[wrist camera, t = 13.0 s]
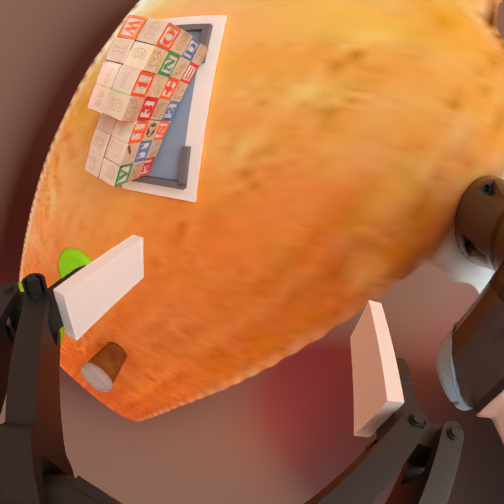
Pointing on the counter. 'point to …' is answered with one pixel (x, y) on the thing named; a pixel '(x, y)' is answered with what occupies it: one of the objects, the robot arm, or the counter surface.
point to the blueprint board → (186, 120)
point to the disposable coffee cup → (104, 367)
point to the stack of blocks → (139, 96)
